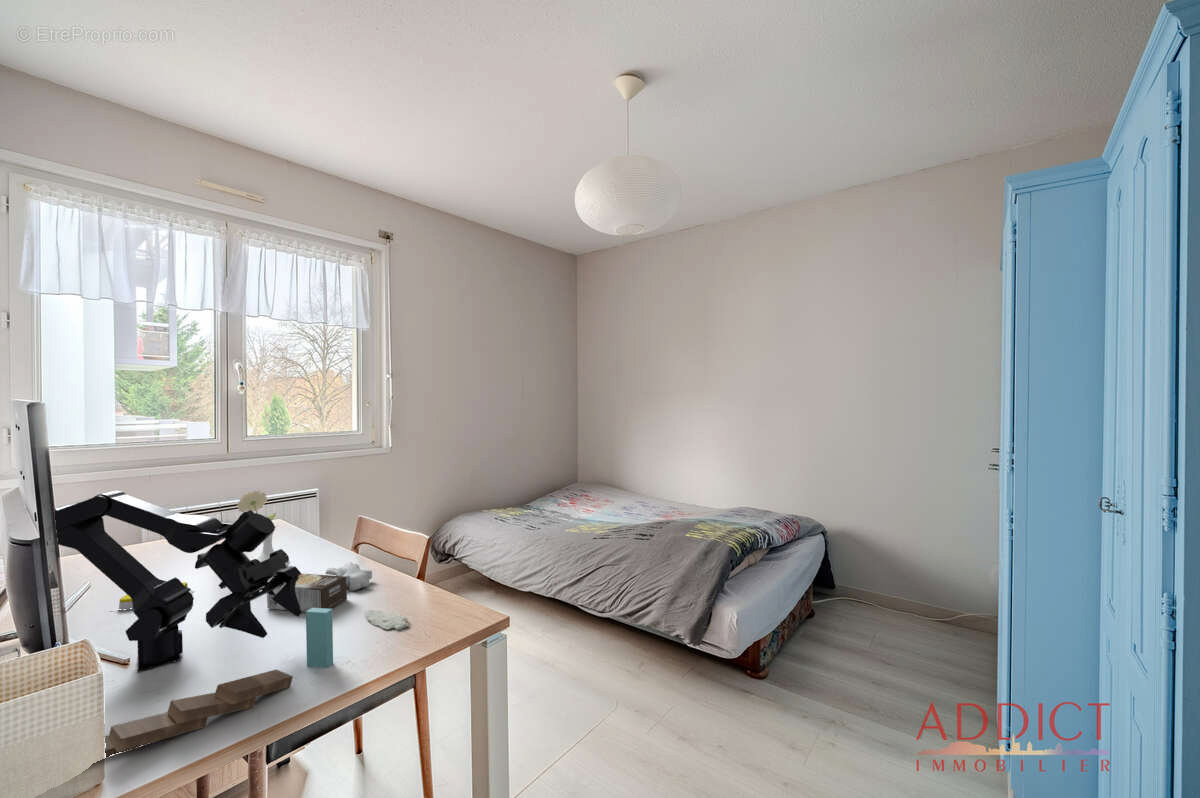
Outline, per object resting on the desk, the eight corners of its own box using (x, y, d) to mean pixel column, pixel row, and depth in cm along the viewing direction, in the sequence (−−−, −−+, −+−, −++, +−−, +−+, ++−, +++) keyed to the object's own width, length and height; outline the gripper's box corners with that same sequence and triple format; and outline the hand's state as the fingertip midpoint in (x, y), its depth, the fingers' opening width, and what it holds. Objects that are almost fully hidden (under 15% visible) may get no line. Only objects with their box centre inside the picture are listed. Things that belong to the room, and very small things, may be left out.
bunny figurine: (344, 581, 135) (321, 563, 145) (344, 600, 136) (321, 580, 145) (379, 571, 142) (355, 554, 152) (378, 589, 143) (354, 571, 152)
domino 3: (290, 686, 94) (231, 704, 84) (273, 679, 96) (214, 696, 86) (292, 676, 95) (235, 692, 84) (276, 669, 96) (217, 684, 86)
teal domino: (327, 667, 101) (326, 612, 100) (306, 666, 101) (305, 611, 101) (333, 662, 102) (332, 608, 102) (313, 661, 103) (312, 607, 103)
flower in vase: (288, 562, 162) (286, 484, 162) (291, 572, 153) (290, 490, 152) (237, 571, 154) (236, 489, 154) (238, 582, 145) (237, 495, 145)
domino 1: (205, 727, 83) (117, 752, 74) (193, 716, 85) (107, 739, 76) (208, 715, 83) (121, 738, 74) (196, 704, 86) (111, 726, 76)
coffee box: (293, 571, 136) (347, 575, 133) (294, 595, 136) (348, 599, 133) (265, 584, 127) (322, 588, 124) (266, 610, 127) (323, 614, 124)
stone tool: (416, 627, 119) (376, 610, 127) (416, 618, 119) (375, 602, 127) (395, 639, 114) (354, 620, 122) (395, 629, 114) (354, 611, 122)
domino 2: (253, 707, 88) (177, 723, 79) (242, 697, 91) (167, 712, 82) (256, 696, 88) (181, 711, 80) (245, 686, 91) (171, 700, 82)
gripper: (218, 556, 94) (272, 620, 93) (292, 529, 112) (338, 581, 111) (181, 596, 95) (234, 659, 94) (261, 562, 114) (306, 614, 112)
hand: (283, 625), depth 103 cm, fingers open, 9 cm apart
